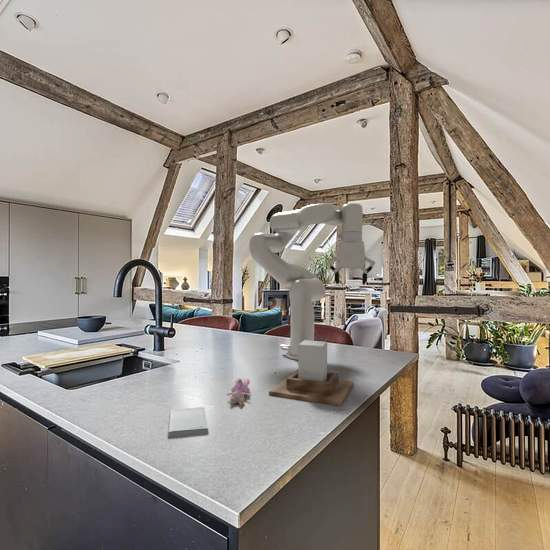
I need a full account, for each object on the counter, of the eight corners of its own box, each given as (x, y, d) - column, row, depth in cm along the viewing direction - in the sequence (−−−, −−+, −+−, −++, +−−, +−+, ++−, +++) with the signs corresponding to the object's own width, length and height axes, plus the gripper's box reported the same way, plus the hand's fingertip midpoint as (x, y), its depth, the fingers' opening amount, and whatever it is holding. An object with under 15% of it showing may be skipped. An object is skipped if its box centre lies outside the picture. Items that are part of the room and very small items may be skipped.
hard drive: (208, 428, 75) (204, 406, 87) (168, 431, 73) (169, 408, 85) (208, 436, 75) (204, 413, 87) (167, 439, 73) (169, 415, 85)
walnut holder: (268, 394, 99) (269, 380, 99) (292, 375, 118) (292, 363, 118) (340, 405, 92) (340, 390, 92) (353, 383, 111) (353, 371, 111)
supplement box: (327, 383, 108) (328, 341, 107) (322, 390, 101) (323, 346, 100) (303, 380, 110) (304, 339, 110) (297, 387, 103) (298, 343, 103)
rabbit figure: (248, 412, 90) (254, 384, 105) (248, 390, 89) (254, 365, 104) (223, 411, 90) (233, 384, 105) (223, 389, 89) (233, 364, 104)
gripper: (326, 237, 131) (325, 283, 131) (374, 236, 125) (373, 285, 125) (330, 239, 138) (329, 283, 138) (376, 238, 132) (375, 284, 132)
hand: (350, 284), depth 132 cm, fingers open, 9 cm apart
